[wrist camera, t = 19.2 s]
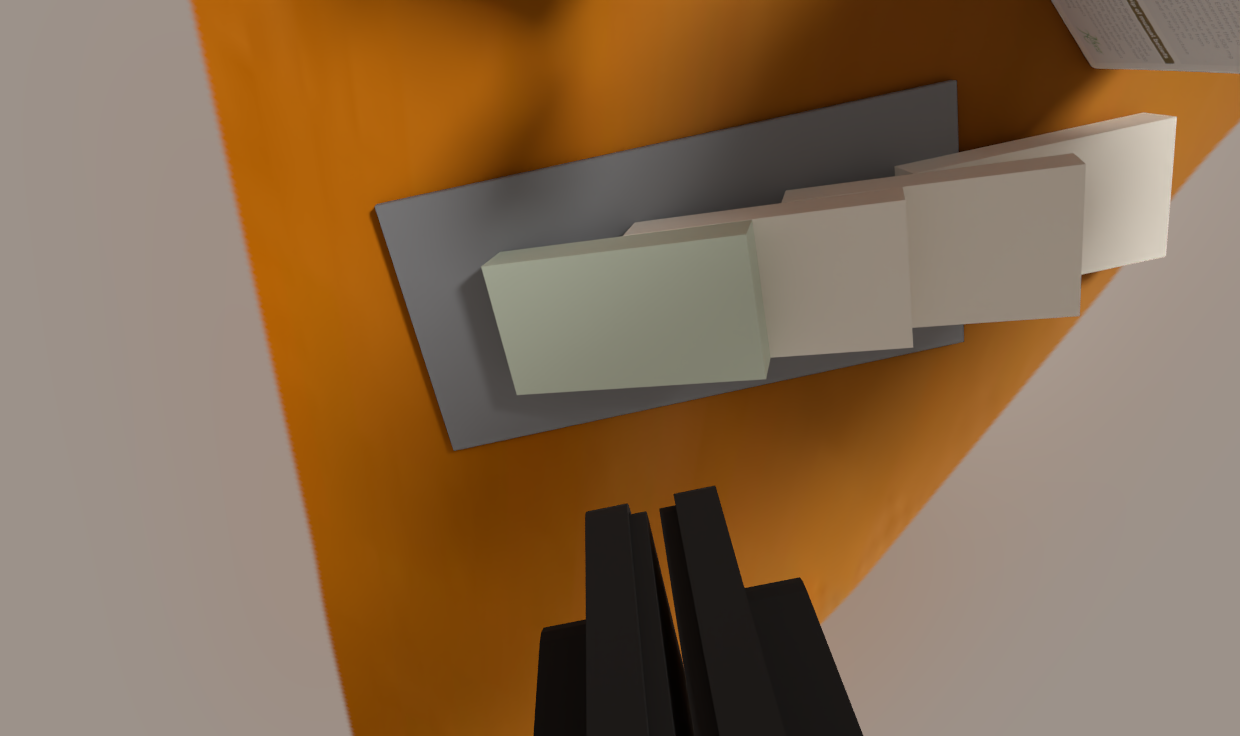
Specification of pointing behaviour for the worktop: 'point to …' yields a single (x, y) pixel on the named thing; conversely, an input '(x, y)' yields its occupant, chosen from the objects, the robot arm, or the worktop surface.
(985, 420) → the worktop surface
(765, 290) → the domino
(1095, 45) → the syrup box
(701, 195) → the mat
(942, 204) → the domino
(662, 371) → the domino
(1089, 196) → the domino
